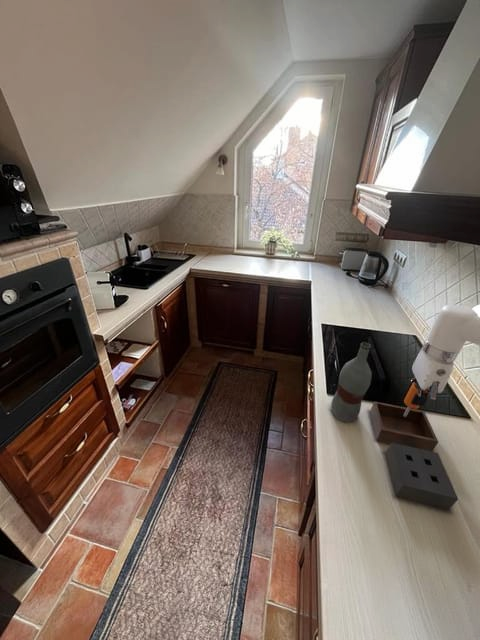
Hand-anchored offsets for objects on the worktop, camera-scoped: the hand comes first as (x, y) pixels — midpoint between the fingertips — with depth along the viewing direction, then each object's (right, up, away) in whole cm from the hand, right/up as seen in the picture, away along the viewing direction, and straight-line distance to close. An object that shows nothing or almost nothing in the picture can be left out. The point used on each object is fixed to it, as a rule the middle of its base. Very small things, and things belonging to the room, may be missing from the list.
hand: (414, 398), depth 76 cm
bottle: (-16, -10, +14) cm, 23 cm away
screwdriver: (0, -7, +4) cm, 8 cm away
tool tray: (0, -14, +8) cm, 16 cm away
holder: (-4, -21, -6) cm, 22 cm away
